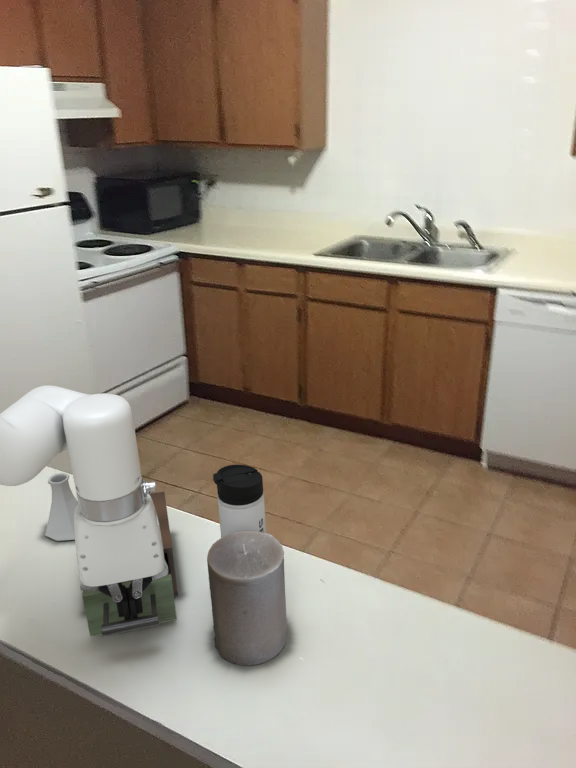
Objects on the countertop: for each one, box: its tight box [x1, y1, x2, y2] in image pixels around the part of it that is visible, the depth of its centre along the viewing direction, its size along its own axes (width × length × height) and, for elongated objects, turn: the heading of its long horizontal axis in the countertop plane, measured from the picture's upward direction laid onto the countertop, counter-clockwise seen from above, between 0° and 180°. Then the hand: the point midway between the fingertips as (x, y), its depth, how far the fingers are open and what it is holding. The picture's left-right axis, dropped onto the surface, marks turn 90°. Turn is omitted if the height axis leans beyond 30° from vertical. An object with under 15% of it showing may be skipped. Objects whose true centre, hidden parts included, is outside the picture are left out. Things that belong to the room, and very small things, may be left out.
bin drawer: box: [81, 574, 178, 637], centre depth 92 cm, size 19×11×7 cm, turn 14°
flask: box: [44, 472, 78, 542], centre depth 110 cm, size 7×7×10 cm
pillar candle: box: [206, 531, 288, 666], centre depth 85 cm, size 10×10×15 cm
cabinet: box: [149, 491, 179, 597], centre depth 100 cm, size 15×13×9 cm
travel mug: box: [212, 464, 267, 538], centre depth 92 cm, size 6×7×20 cm
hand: (131, 617), depth 86 cm, fingers closed
